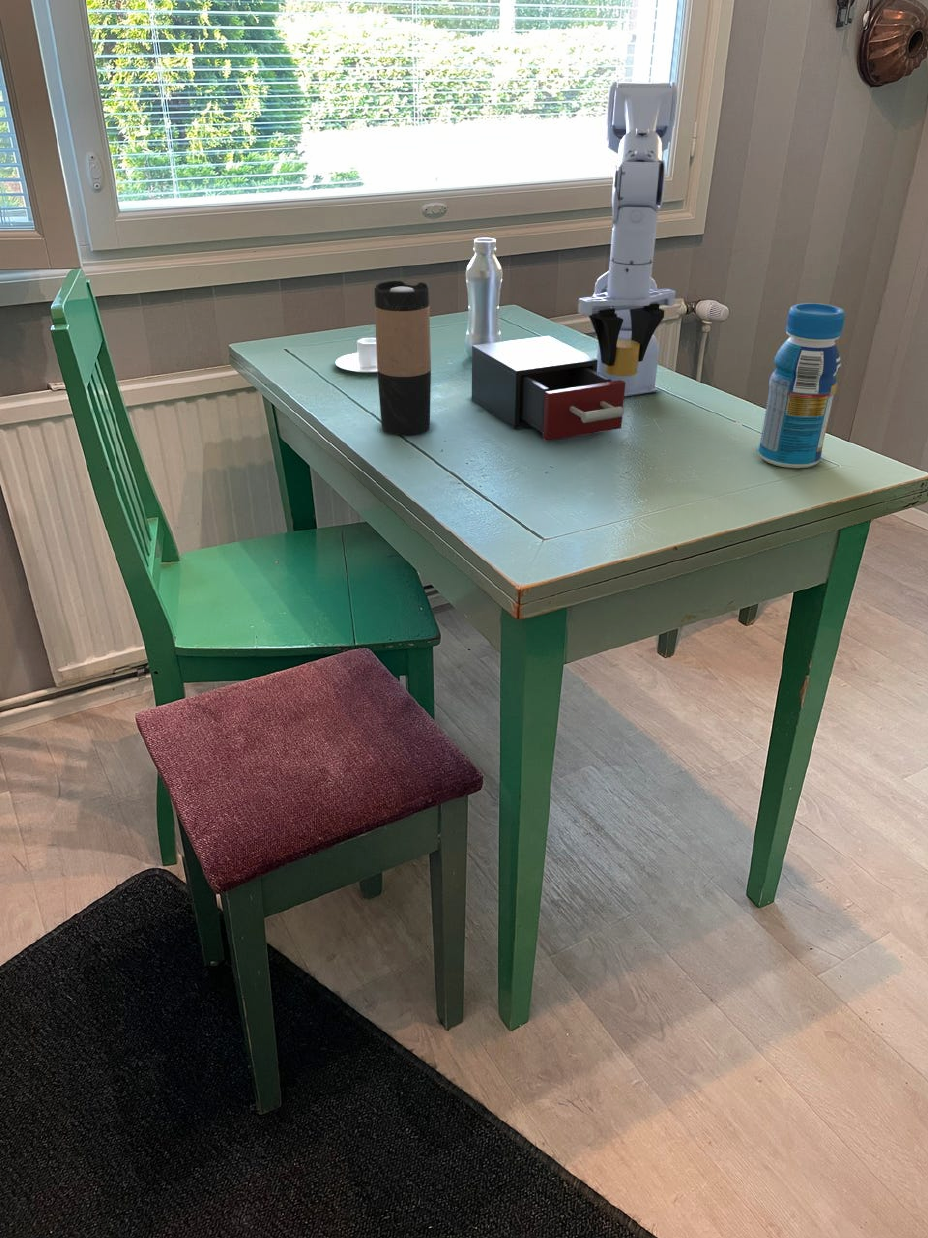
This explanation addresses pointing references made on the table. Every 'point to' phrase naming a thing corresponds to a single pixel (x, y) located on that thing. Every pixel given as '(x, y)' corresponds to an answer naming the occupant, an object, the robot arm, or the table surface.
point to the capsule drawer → (571, 402)
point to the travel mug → (403, 356)
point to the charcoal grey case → (517, 371)
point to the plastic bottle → (483, 295)
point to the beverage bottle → (802, 387)
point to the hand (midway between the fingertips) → (621, 361)
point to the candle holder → (361, 357)
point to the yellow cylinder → (625, 358)
